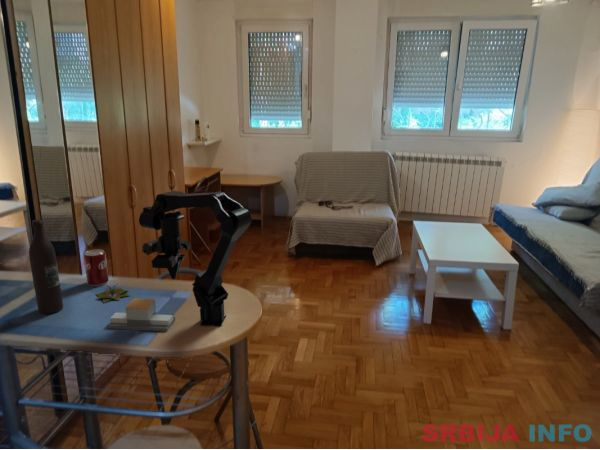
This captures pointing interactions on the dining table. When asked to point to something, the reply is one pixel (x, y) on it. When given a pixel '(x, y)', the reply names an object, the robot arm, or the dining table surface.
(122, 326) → the rail
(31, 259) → the wine bottle
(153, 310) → the block
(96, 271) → the soda can
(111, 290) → the lily flower
